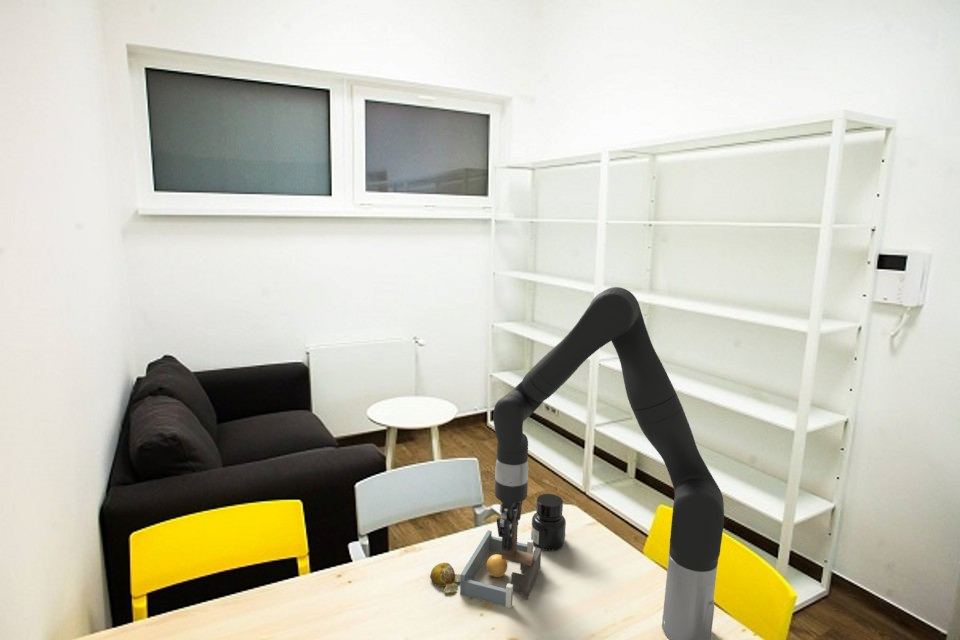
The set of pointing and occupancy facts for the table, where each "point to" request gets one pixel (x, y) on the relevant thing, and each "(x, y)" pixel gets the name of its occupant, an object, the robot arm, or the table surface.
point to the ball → (496, 565)
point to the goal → (474, 564)
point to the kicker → (523, 566)
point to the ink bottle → (548, 523)
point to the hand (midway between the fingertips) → (509, 544)
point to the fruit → (445, 577)
